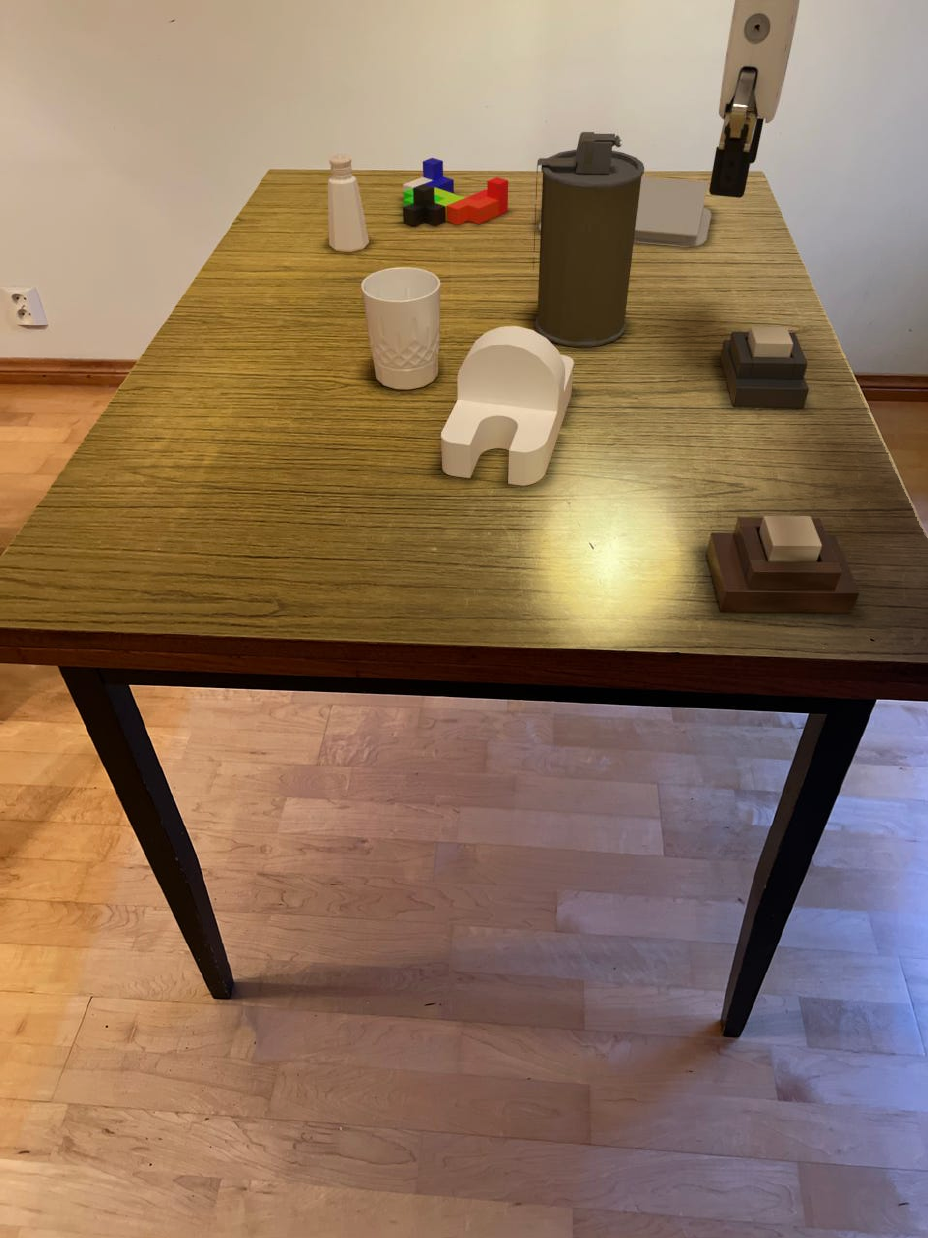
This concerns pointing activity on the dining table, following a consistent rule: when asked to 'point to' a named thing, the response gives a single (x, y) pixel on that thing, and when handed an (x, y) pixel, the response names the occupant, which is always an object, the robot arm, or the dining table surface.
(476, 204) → the building blocks
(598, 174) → the canister
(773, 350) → the far key
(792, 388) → the far block
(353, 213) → the salt shaker
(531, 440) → the slotted bracket
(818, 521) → the near block
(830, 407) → the dining table surface
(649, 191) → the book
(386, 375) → the white cup
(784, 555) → the near key
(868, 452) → the dining table surface
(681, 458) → the dining table surface
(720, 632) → the dining table surface
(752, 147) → the robot arm
